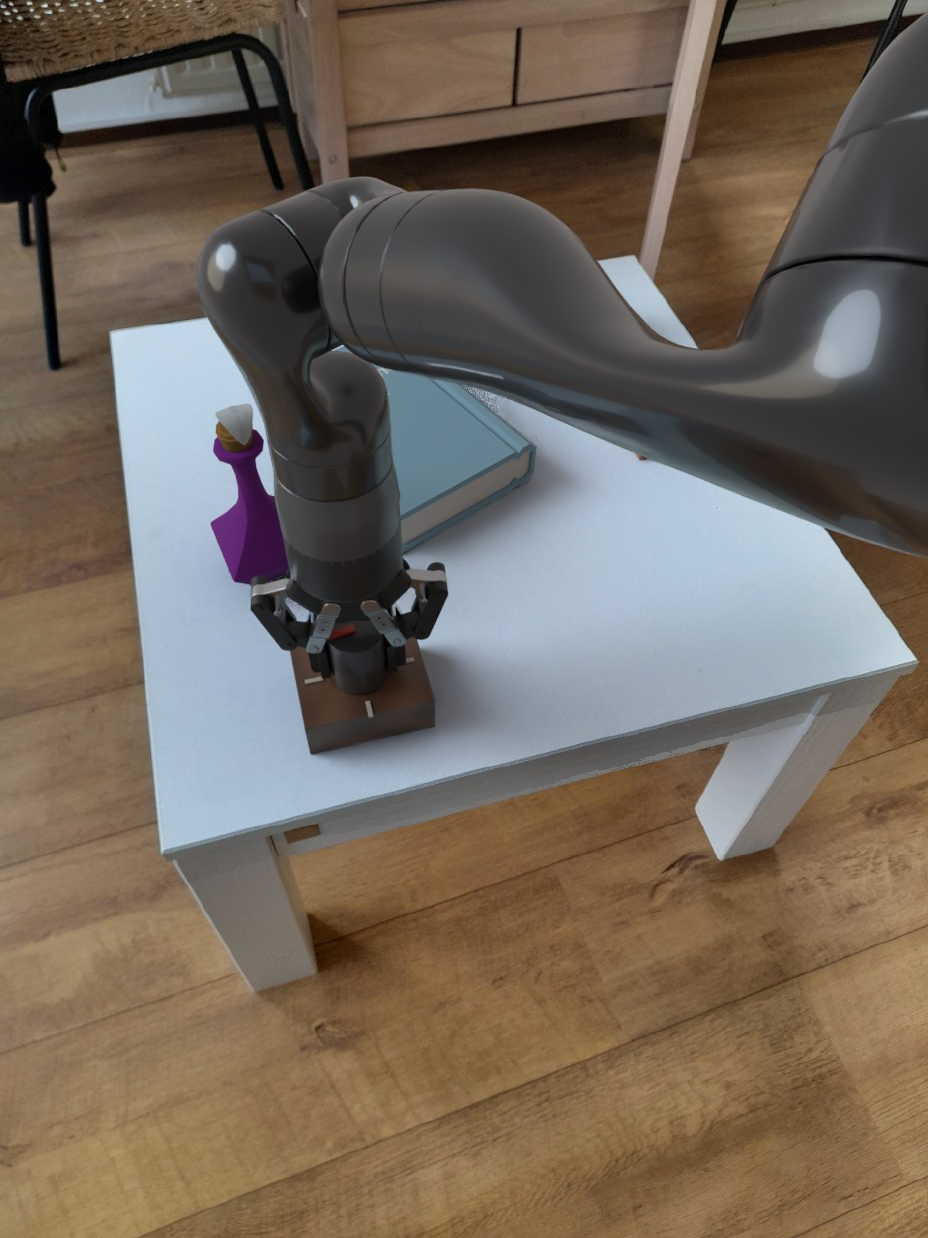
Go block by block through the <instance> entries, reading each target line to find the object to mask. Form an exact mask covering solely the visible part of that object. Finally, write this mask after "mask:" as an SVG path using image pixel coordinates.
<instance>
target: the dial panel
mask: <svg viewBox="0 0 928 1238" xmlns="http://www.w3.org/2000/svg"><path fill="white" fill-rule="evenodd" d="M405 651H406V662H405V664H404V665H402V666H397V669H398V672H393V673H389V669H388V675H387V678H386V680H385V681H384V683H383V684H382V685H381V686H380V687H379V688H378V689H376V690H374V691H372V692H370V693H366V694H351V693H347V692H345V691H343V690H342V689H340V688H339V687H338V686H337V685H336V684H335V682H334V680H333V678H332V673H331V678H323V679H322V677H321V672H320V673H314V672H313V671H312V670H311V665H310V661H309V656H308V652H307V651H306V649H305V648H303V647H298V646H297V648H296V649H294V650H292V651H289V656H290V659H291V660H290V661H291V665H292V670H293V676H294V681H295V686H296V692H297V697H298V702H299V708H300V712H301V717H302V724H303V728H304V732H305V737H306V741H307V745H308V749H309V750H308V751H309V753H310V755H314V754H318V753H323V752H328V751H332V750H337V749H342V748H345V747H350V746H355V745H358V744H359V745H360V744H364V743H368V742H373V741H377V740H382V739H386V738H390V737H395V736H399V735H403V734H408V733H413V732H417V731H421V730H426V729H430V728H434V727H436V699H435V695H434V692H433V689H432V685H431V681H430V678H429V675H428V671H427V669H426V665H425V661H424V658H423V654H422V651H421V648H420V644H419V640H418V639H415V638H414V637H411V638H409V639H407V640H406V643H405Z"/></svg>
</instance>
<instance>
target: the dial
mask: <svg viewBox="0 0 928 1238" xmlns="http://www.w3.org/2000/svg"><path fill="white" fill-rule="evenodd" d="M326 644H327V650H328V656H329V662H330V668H331V673H332V678H333V680H334V682H335V684H336V685H337V686H338V687H339V688H340V689H342V690H343V691H345V692H347V693H351V694H366V693H370V692H372V691H374V690H376V689H378V688H379V687H380V686H381V685H382V684H383V683H384V681H385V680H386V678H387V675H388V658H387V646H386V637H385V636H384V634H380V633H379V632H378V630H377V629H376V627H375V626H374V624H373V623H372V622H371V621H355V620H353V621H348V622H344V623H337V624H334V627H333V629H332V632H331V635H330V638H329V639H327V640H326Z"/></svg>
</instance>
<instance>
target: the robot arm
mask: <svg viewBox="0 0 928 1238" xmlns="http://www.w3.org/2000/svg"><path fill="white" fill-rule="evenodd" d="M195 271H196V272H195V286H196V292H197V297H198V301H199V303H200V305H201V308H202V311H203V313H204V314H205V316H206V318H207V321H208V322H209V324H210V325H211V327H212V329H213V331H214V332H215V335H216V336H217V337H218V339H219V340H220V342H221V344H222V345H223V347H224V348H225V350H226V351H227V353H228V354H229V356H230V358H231V359H232V361H233V362H234V364H235V365H236V367H237V370H238V371H239V373H240V374H241V376H242V378H243V380H244V382H245V385H246V386H247V388H248V390H249V392H250V393H251V396H252V399H253V401H254V403H255V405H256V407H257V410H258V412H259V414H260V417H261V420H262V423H263V426H264V432H265V436H266V443H267V447H268V452H269V456H270V462H271V466H272V472H273V473H272V474H273V496H275V502H276V507H277V512H278V517H279V522H280V527H281V531H282V536H283V541H284V546H285V551H286V555H287V560H288V565H289V570H288V571H287V573H286V575H285V578H281V579H278V580H274V581H271V580H270V581H269V579H268V578H266V577H264V576H255V577H253V578H252V580H251V585H250V612H251V613H252V614H253V615H254V616H255V617H256V619H257V620H258V621H259V623H260V624H261V626H262V627H263V628H264V629H265V630H266V632H267V633H268V634H269V635H270V636H271V638H272V639H273V640H274V642H275V643H276V644H277V646H278V647H279V648H280V649H281V650H283V651H287V652H290V651H292V650H294V649H296V648H297V646H298V647H303V648H305V649H306V651H307V652H308V656H309V661H310V665H311V670H312V671H313V672H314V673H320V672H321V677H322V679H323V678H331V668H330V662H329V656H328V650H327V644H326V640H327V639H329V638H330V635H331V632H332V629H333V627H334V624H337V623H344V622H348V621H353V620H355V621H371V622H372V623H373V624H374V626H375V627H376V629H377V630H378V632H379V633H380V634H384V636H385V637H386V646H387V658H388V669H389V673H393V672H398V669H397V666H402V665H404V664H405V662H406V651H405V643H406V640H407V639H409V638H411V637H414V638H415V639H417V641H425V640H427V639H429V638H430V637H431V635H432V632H433V629H434V628H435V626H436V624H437V621H438V619H439V616H440V614H441V612H442V610H443V608H444V605H445V603H446V601H447V599H448V597H449V587H448V579H447V572H446V566H445V564H444V563H443V562H440V561H439V562H438V561H435V562H431V563H429V565H428V566H427V568H426V569H419V568H411V567H410V564H409V562H408V561H407V560H406V559H405V558H404V557H403V554H404V553H402V536H401V518H400V491H399V485H398V478H397V473H396V469H395V465H394V461H393V451H392V435H391V421H390V405H389V397H388V392H387V388H386V384H385V382H384V380H383V377H382V376H381V374H380V373H379V371H378V370H377V369H376V368H375V367H374V366H373V365H372V364H374V365H377V366H379V367H383V368H386V369H390V370H393V371H397V372H402V373H407V374H412V375H417V376H421V377H426V378H431V379H436V380H440V381H445V382H450V383H455V384H460V385H462V386H464V387H465V386H466V387H469V388H473V389H476V390H479V391H484V392H487V393H490V394H492V395H496V396H499V397H501V398H504V399H507V400H510V401H512V402H515V403H517V404H519V405H522V406H524V407H527V408H530V409H532V410H534V411H537V412H539V413H541V414H543V415H546V416H548V417H550V418H551V419H552V418H553V419H554V420H557V421H559V422H561V423H564V424H566V425H568V426H570V427H573V428H575V429H577V430H579V431H581V432H584V433H586V434H588V435H591V436H594V437H596V438H598V439H600V440H603V441H605V442H607V443H610V444H612V445H614V446H617V447H619V448H621V449H624V450H626V451H629V452H631V453H634V454H635V455H636V454H639V455H641V456H644V457H646V458H648V459H649V460H652V461H653V462H656V463H659V464H661V465H663V466H666V467H669V468H672V469H673V470H677V471H680V472H683V473H685V474H687V475H690V476H692V477H693V478H694V477H695V478H697V479H699V480H702V481H704V482H706V483H709V484H712V485H714V486H717V487H719V488H720V489H721V488H722V489H724V490H726V491H729V492H731V493H734V494H736V495H739V496H741V497H743V498H746V499H749V500H751V501H753V502H756V503H759V504H762V505H764V506H767V507H769V508H772V509H774V510H777V511H779V512H783V513H785V514H787V515H790V516H793V517H796V518H798V519H800V520H803V521H806V522H808V523H811V524H814V525H816V526H819V527H822V528H825V529H828V530H829V531H833V532H835V533H838V534H841V535H844V536H847V537H849V538H853V539H856V540H859V541H862V542H865V543H869V544H872V545H874V546H875V545H876V546H878V547H882V548H885V549H888V550H891V551H895V552H899V553H901V554H905V555H910V556H915V557H919V558H923V559H928V10H927V11H926V12H925V13H924V14H922V15H921V16H920V17H918V18H917V19H916V20H915V21H914V22H913V23H911V24H909V26H908V27H907V28H905V29H904V30H903V31H902V32H900V33H899V34H898V35H897V36H895V38H894V39H893V40H892V41H891V42H890V43H889V45H888V46H887V47H886V48H885V49H884V50H883V51H882V53H881V54H880V55H879V57H878V58H877V60H876V61H875V63H874V64H873V65H872V67H871V68H870V69H869V71H868V72H867V74H866V75H865V76H864V78H863V80H862V81H861V83H859V85H858V87H857V88H856V90H855V92H854V93H853V95H852V96H851V98H850V99H849V101H848V103H847V105H846V106H845V108H844V110H843V111H842V114H841V115H840V118H839V119H838V121H837V123H836V125H835V127H834V129H833V131H832V133H831V135H830V137H829V138H828V141H827V143H826V144H825V146H824V148H823V150H822V153H821V154H820V156H819V158H818V160H817V163H816V164H815V166H814V169H813V172H812V173H811V175H810V176H809V177H808V180H807V182H806V184H805V186H804V189H803V190H802V192H801V194H800V196H799V199H798V201H797V202H796V204H795V207H794V209H793V211H792V214H791V215H790V218H789V219H788V222H787V224H786V226H785V228H784V230H783V232H782V234H781V237H780V238H779V241H778V243H777V244H776V247H775V249H774V251H773V254H772V256H771V258H770V260H769V262H768V264H767V266H766V268H765V270H764V272H763V274H762V276H761V279H760V281H759V284H758V285H757V287H756V290H755V292H754V295H753V296H752V299H751V300H750V302H749V305H748V307H747V309H746V312H745V315H744V317H743V320H742V322H741V324H740V326H739V329H738V331H737V334H736V337H735V339H734V341H732V342H731V343H730V344H729V345H727V346H725V347H722V348H712V349H711V348H709V349H706V348H705V349H703V348H695V347H690V346H685V345H682V344H678V343H676V342H674V341H671V340H669V339H667V338H666V337H664V336H662V335H660V334H659V333H658V332H657V331H655V330H654V329H653V328H652V327H651V326H650V325H649V324H648V323H647V322H646V321H645V320H644V319H643V318H642V316H641V315H639V314H638V312H636V310H634V308H633V307H632V306H631V305H630V303H629V302H628V300H626V298H625V297H624V296H623V294H622V293H621V291H620V290H619V289H618V288H617V286H616V285H615V284H614V282H613V281H612V279H611V278H610V276H609V275H608V274H607V272H606V271H605V269H604V268H603V266H602V265H601V263H600V262H599V261H598V259H596V258H595V256H594V255H593V254H592V252H591V251H590V250H589V248H588V247H587V246H586V245H585V244H584V242H583V241H582V240H581V239H580V238H579V236H578V235H577V234H576V233H575V231H573V229H572V228H570V227H569V226H568V225H567V224H566V223H565V222H564V221H563V220H561V219H560V218H559V217H557V216H556V215H555V214H554V213H552V212H550V211H549V210H548V209H546V208H544V207H543V206H542V205H540V204H538V203H536V202H533V201H532V200H529V199H526V198H524V197H522V196H519V195H516V194H513V193H510V192H506V191H503V190H494V189H486V188H485V189H484V188H474V187H471V188H470V187H469V188H448V189H447V188H446V189H429V190H409V191H407V190H406V189H404V188H402V187H399V186H397V185H393V184H391V183H389V182H386V181H384V180H382V179H379V178H377V177H373V176H353V177H346V178H341V179H335V180H332V181H327V182H326V183H322V184H320V185H317V186H313V187H311V188H309V189H306V190H304V191H302V192H299V193H297V194H294V195H292V196H289V197H287V198H284V199H281V200H279V201H277V202H274V203H271V204H269V205H266V206H264V207H261V208H259V209H256V210H255V211H251V212H248V213H246V214H243V215H240V216H238V217H235V218H233V219H230V220H228V221H226V222H224V223H222V224H221V225H219V226H218V227H216V228H215V229H214V230H213V231H211V233H210V234H209V235H208V236H207V237H206V239H205V241H204V242H203V244H202V246H201V249H200V251H199V255H198V259H197V263H196V270H195ZM343 346H345V347H346V348H347V349H348V350H349V351H350V352H352V353H353V354H352V353H348V352H342V351H334V350H336V349H338V348H340V347H343ZM371 363H372V364H371ZM410 588H412V589H413V590H414V595H415V597H414V601H413V603H412V605H411V607H410V611H408V612H404V613H403V611H402V610H401V608H400V607H399V605H398V604H397V601H398V600H400V599H401V598H402V597H403V596H404V595H405V594H406V593H407V592H408V591H409V589H410ZM288 598H289V599H290V600H291V601H293V602H294V603H296V604H297V605H299V606H301V607H302V608H304V610H307V611H308V614H307V617H306V620H305V621H301V620H298V618H297V617H296V615H295V614H294V612H293V611H292V609H291V608H290V607H289V605H288V604H287V599H288Z"/></svg>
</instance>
